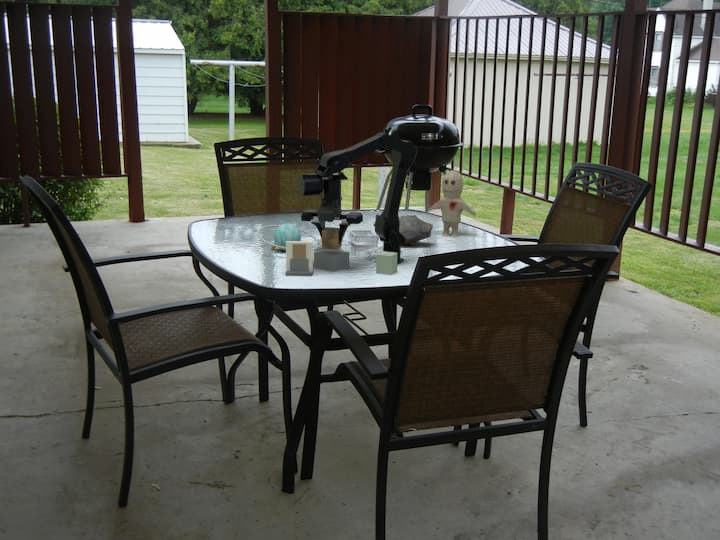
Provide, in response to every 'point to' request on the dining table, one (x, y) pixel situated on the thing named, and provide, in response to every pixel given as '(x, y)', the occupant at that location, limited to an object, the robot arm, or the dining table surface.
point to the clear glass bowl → (285, 235)
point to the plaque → (299, 258)
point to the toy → (452, 202)
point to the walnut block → (331, 238)
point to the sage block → (386, 263)
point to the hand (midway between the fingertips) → (331, 243)
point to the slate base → (331, 260)
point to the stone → (414, 229)
